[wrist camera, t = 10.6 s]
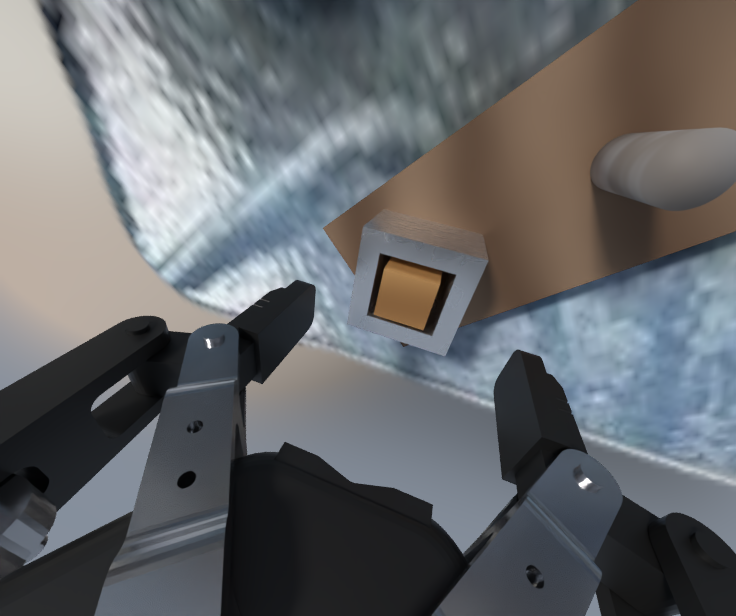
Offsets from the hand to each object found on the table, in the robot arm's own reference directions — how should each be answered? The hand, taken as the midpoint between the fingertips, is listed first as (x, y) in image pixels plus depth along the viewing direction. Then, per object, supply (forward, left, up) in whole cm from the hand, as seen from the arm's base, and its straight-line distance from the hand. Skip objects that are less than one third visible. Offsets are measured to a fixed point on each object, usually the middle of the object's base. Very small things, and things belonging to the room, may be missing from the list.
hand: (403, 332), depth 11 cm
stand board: (-5, 0, -9) cm, 10 cm away
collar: (0, 0, -7) cm, 7 cm away
